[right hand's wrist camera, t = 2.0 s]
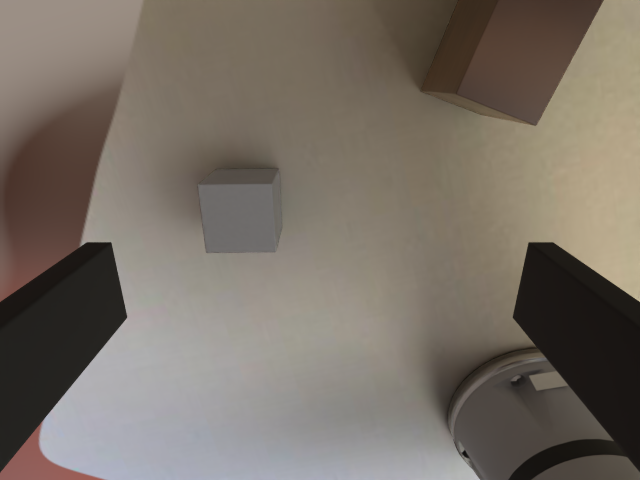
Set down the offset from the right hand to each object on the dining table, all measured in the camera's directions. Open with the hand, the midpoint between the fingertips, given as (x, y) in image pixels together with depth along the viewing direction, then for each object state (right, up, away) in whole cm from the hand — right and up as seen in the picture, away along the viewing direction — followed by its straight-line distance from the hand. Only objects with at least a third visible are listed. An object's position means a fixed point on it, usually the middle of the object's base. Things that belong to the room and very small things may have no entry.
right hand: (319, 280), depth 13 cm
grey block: (-6, +5, +19) cm, 20 cm away
